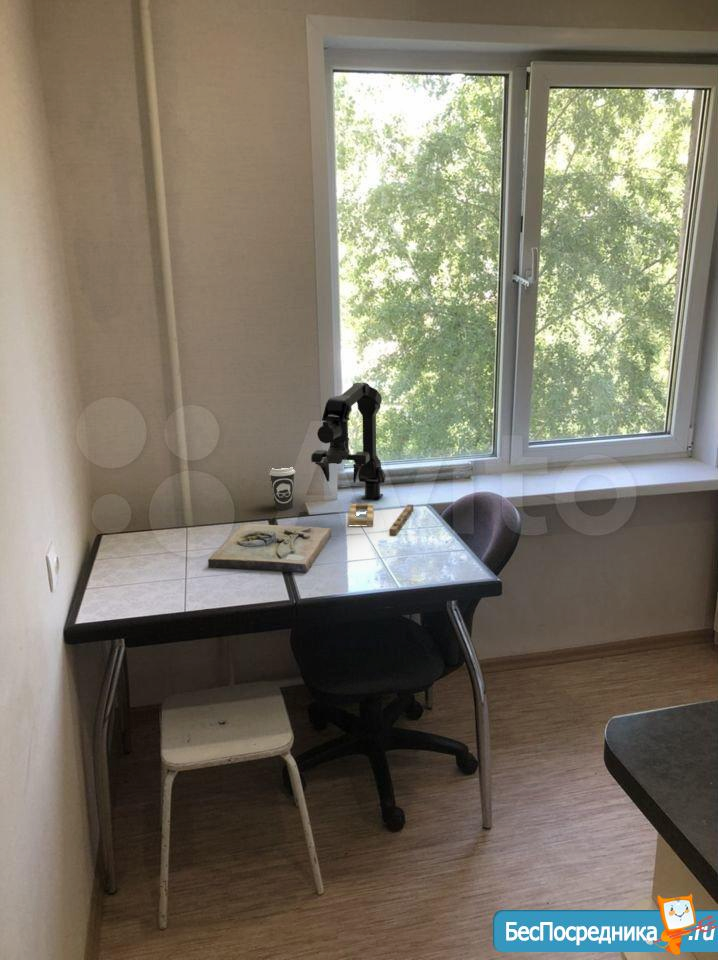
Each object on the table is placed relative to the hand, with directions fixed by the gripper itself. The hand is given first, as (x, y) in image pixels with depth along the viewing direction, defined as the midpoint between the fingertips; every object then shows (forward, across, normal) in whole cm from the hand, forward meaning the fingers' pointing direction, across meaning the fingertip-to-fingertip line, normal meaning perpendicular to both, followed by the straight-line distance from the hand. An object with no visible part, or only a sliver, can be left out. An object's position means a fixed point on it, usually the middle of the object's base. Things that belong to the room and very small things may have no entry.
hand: (341, 481), depth 245 cm
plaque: (+13, -12, -33) cm, 38 cm away
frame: (+13, +6, +3) cm, 15 cm away
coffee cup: (+13, -24, +8) cm, 29 cm away
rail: (+13, +20, +1) cm, 24 cm away
